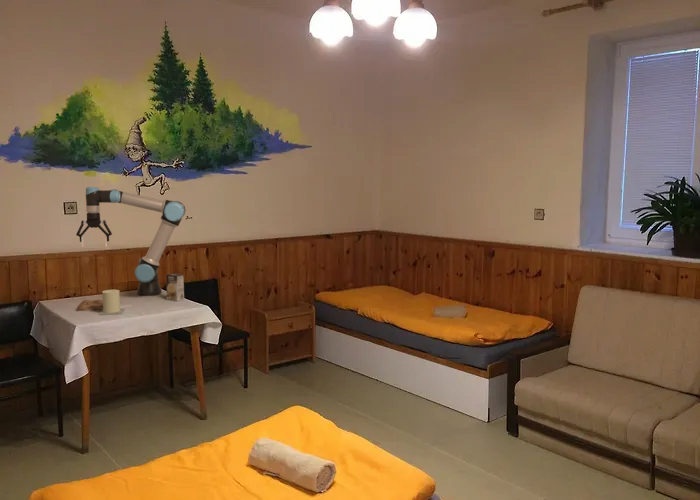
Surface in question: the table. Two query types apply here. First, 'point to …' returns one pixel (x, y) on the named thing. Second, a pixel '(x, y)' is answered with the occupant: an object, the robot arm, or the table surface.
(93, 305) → the puzzle board
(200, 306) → the table surface
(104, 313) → the mat
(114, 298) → the can
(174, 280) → the coffee box
